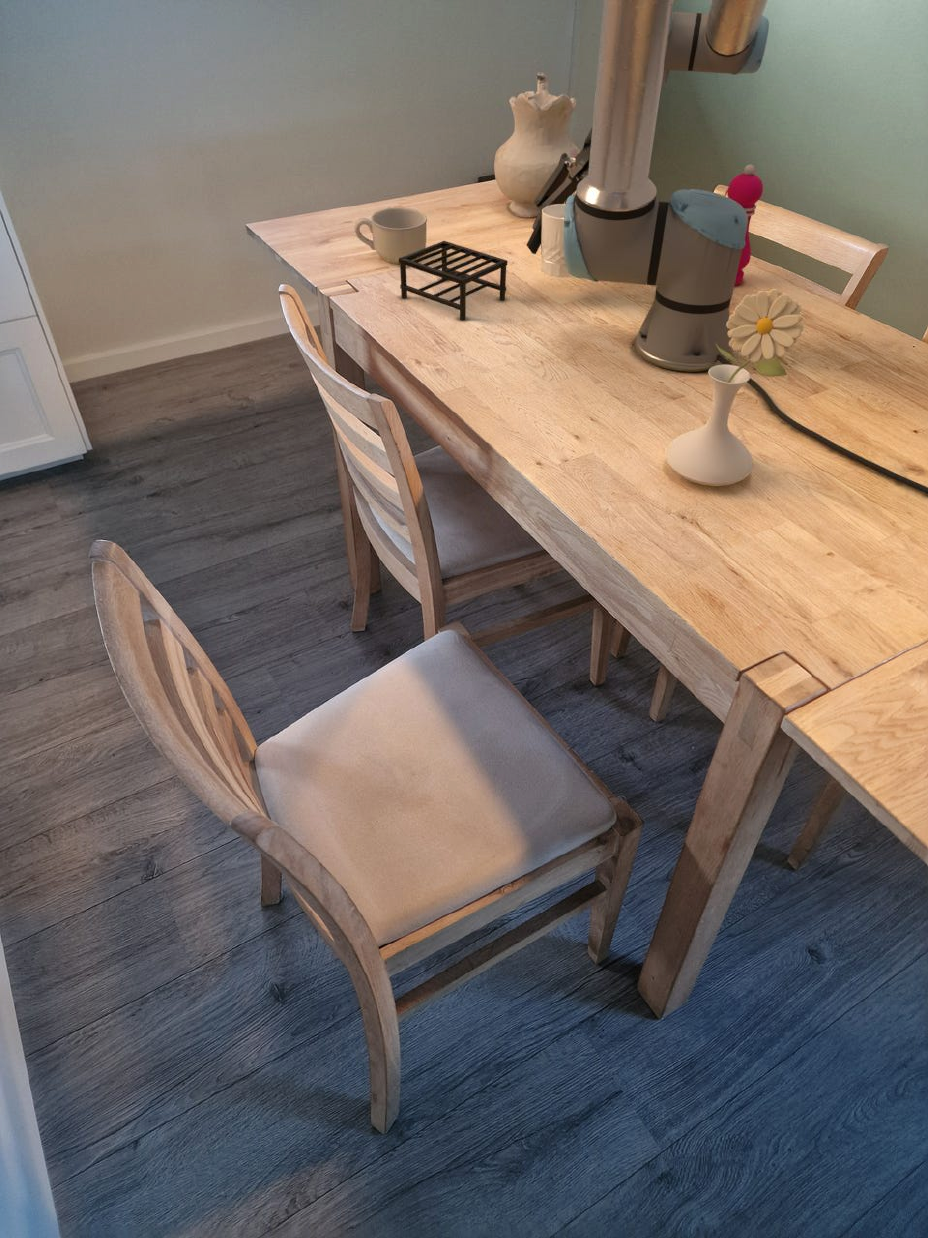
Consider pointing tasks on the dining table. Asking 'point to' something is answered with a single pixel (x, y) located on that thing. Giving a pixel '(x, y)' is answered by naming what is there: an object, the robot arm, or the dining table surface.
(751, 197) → the pepper mill
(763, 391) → the robot arm
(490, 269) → the wire rack
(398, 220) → the teacup
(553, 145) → the ceramic pitcher
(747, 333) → the flower in vase
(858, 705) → the dining table surface
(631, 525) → the dining table surface
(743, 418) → the dining table surface
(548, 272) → the white cup
